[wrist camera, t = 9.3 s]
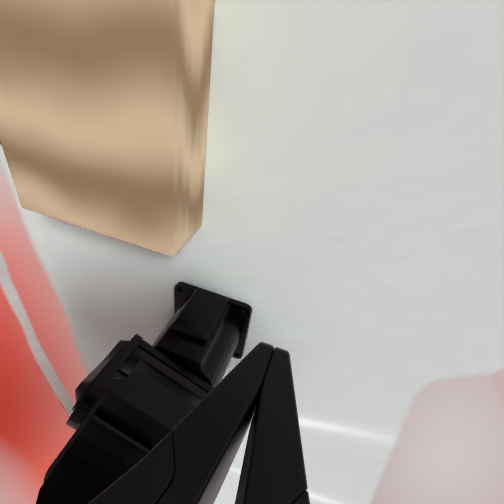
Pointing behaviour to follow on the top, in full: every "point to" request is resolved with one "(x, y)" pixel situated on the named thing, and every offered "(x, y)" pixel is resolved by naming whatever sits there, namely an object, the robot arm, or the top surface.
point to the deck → (108, 113)
